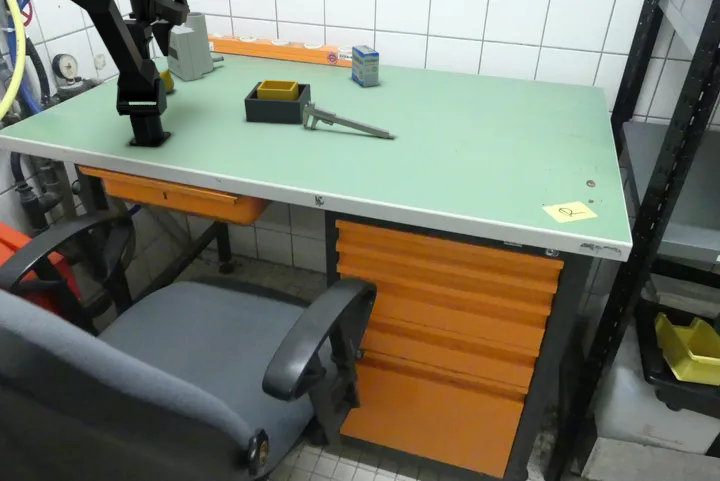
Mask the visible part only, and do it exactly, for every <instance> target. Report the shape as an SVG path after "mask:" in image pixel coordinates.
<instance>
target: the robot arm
mask: <svg viewBox="0 0 720 481" xmlns="http://www.w3.org/2000/svg"><path fill="white" fill-rule="evenodd" d="M70 2H72V3H74V4H75V5H77V6H78V7H80V8H81V9H83V10H84V11H86V13H87V15H88V17H89V19H90V21H91V22H92V24H93V26H94V28H95V30H96V31H97V34H98V35H99V37H100V39H101V40H102V42H103V44H104V47H105V48H106V51H107V52H108V54H109V55H110V57H111V59H112V61H113V64H114V65H115V67H116V68H117V70H118V77H117V81H116V86H117V87H116V88H117V90H116V101H115V109H116V112H117V114H118V115H119V117H123V116H129V122H130V125H131V128H132V133H133V138H132V139H130V140H129V142H128V144H129V145H130V146H143V147H160V146H161V145H162V144H163V143H164V142H165V141H166V140H167V139H168V138H169V137H170V136H171V132H170V131H165V130H164V128H163V123H162V118H161V116H163V114H164V113H165V111H166V110H167V109H168V103H167V100H168V99H167V94H166V89H165V83H164V80H163V79H161V77H160V73H161V72H159V70H158V67H157V65H156V62H155V61H154V60H153V59H151V51H150V49H151V48H150V43H151V42H152V41H153V39H155V42H156V44H157V46H158V48H159V51H160V52H161V55H162V56H163V57H165V58H166V57H168V56H169V47H170V36H171V30H172V29H173V27H174V26H175V25H176V26H181V25H182V24H184V23H186V20H187V14H188V13H190V12H191V9H190V5H189V3H188V0H129V4H130V8H131V11H130V12H129V13H128V18H129V19H124V18H123V15H122V14H121V11H120V9H119V7H118V5H117V3H116V0H70ZM130 103H155V104H130Z"/></svg>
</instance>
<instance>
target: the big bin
mask: <svg viewBox="0 0 720 481" xmlns="http://www.w3.org/2000/svg"><path fill="white" fill-rule="evenodd" d="M262 82H263V81H258V82H257V83H256V85H254V87H253V88H252V90H251V91H249V92H248V94H247V95H246V97H245V98H244V99H243V102H244V112H245V118H246V122H254V123H255V122H256V123H275V124H290V125H291V124H294V125H301V124H303V111H304V107H305V105H308V102H309V101H311V102H312V95H311V94H312V92H311V84H310V83H298V95H299V99H298V100H297V101H288V100H268V99H258V96H257V88H258V87H259V86H260V84H261V83H262Z"/></svg>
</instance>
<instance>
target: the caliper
mask: <svg viewBox="0 0 720 481" xmlns="http://www.w3.org/2000/svg"><path fill="white" fill-rule="evenodd" d="M315 105H316V101H314V102H313V103H312V100H311V101H309V102H308V105H305V107H304V111H303V121H302V124H303V127H304V128H305V129H306V128H307V127H308V123H309V119H310V117H312V120H311V124H310V125H311V127H310V130H314V129H315V127H316V126H317V124H318V122H319V121H321V122H322V123H324V125H325V124H326V125H329V126H333V125H334V124H336V125H339V126H343V127H347V128H350V129H353V130H357V131H360V132H364V133H367V134H370V135H373V136H377V137H379V138H382V139H388V138H390V139H394V137H395V135H394V134H393V133H391V132H390V131H389V130H388V129H384V128H381V127H377V126H374V125H370V124H367V123H364V122H360V121H358V120H354V119H350V118H347V117H344V116H340V115H337V113H336V112H333V111H331V110H327V109H324V108H320V107H317V106H316V107H315Z"/></svg>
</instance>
